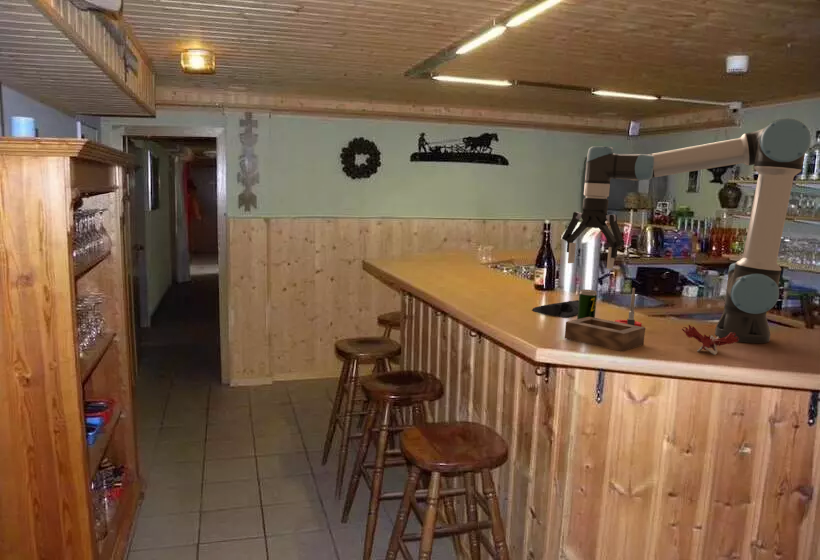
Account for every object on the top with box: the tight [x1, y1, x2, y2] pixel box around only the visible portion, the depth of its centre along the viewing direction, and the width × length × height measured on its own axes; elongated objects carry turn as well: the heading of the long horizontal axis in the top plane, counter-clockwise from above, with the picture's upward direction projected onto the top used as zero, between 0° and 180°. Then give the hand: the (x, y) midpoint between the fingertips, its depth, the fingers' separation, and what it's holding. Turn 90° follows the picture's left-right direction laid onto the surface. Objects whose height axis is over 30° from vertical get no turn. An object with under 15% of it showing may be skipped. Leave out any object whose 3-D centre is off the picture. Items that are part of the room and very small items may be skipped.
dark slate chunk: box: [531, 299, 579, 319], centre depth 227 cm, size 15×22×5 cm
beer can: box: [576, 288, 598, 319], centre depth 200 cm, size 5×5×12 cm
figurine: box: [681, 324, 739, 356], centre depth 176 cm, size 15×12×7 cm
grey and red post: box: [614, 287, 643, 327], centre depth 208 cm, size 8×13×9 cm
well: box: [564, 317, 646, 352], centre depth 183 cm, size 18×13×5 cm
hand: (590, 265), depth 198 cm, fingers open, 13 cm apart
